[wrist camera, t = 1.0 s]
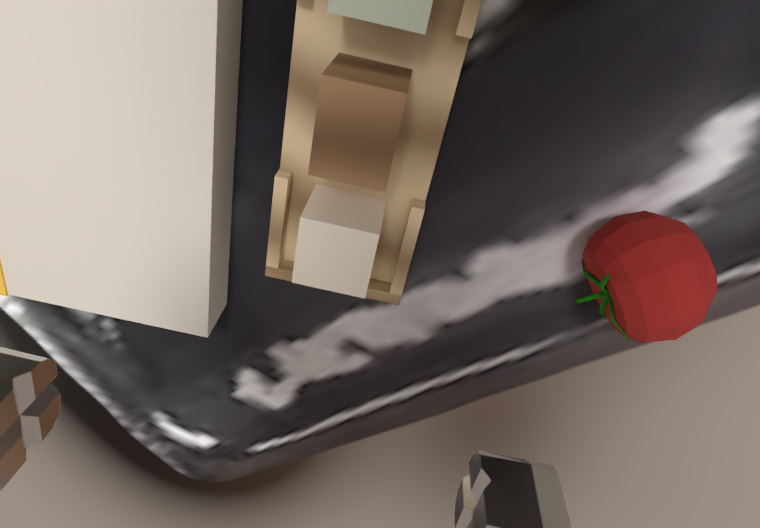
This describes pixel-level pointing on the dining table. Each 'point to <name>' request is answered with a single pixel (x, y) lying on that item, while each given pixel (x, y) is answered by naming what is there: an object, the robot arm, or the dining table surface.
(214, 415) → the dining table surface
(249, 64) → the dining table surface
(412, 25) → the block
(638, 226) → the tomato
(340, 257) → the block
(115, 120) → the dock
